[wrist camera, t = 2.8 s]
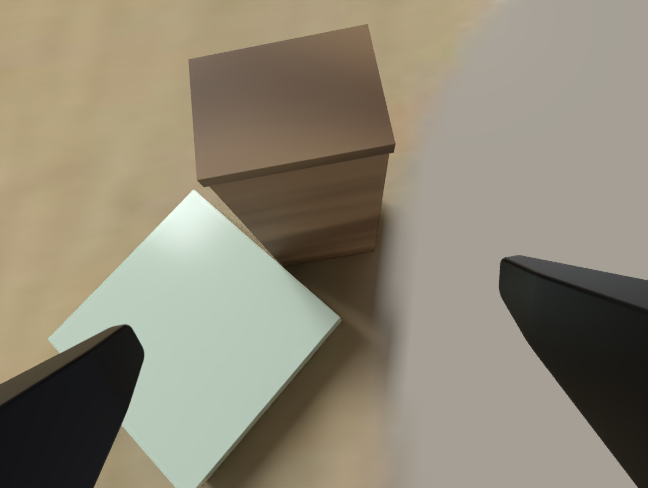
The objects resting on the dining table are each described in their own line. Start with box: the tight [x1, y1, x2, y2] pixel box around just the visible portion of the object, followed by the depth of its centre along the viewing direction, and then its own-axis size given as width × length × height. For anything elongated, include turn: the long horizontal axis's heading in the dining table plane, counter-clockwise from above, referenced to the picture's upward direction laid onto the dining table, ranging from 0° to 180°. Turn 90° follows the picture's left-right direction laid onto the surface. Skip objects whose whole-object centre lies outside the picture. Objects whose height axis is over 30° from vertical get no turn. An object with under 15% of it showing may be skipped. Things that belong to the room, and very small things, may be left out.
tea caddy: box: [189, 24, 395, 267], centre depth 18 cm, size 4×6×12 cm
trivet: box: [48, 190, 342, 488], centre depth 21 cm, size 11×11×2 cm
